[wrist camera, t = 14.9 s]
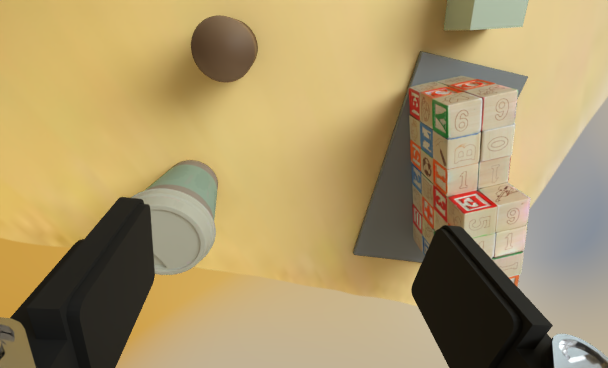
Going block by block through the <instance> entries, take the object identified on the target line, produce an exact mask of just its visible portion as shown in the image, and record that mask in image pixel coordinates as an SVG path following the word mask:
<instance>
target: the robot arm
mask: <svg viewBox="0 0 608 368" xmlns="http://www.w3.org/2000/svg"><path fill="white" fill-rule="evenodd" d="M154 276H155V268H154V254H153V240H152V225H151V211H150V205H149V204H144V201H143V200H142V199H138V198H126V197H120V198H119V199H118V200H117V201H116V203H115V204H114V205H113V206H112V207H111V208H110V210H109V211H108V212H107V213H106V214H105V216H104V217H103V218H102V219H101V220H100V221H99V223H98V224H97V225H96V226H95V227H94V228H93V230H92V231H91V232H90V233H89V234H88V236H87V237H86V238H85V239H82V240H79V241H78V242H76V243H75V244H74V245H73V246H72V248H71V249H70V250H69V251H68V252H67V253H66V255H65V256H64V257H63V258H62V259H61V260H60V261H59V263H58V264H57V265H56V266H55V267H54V269H52V271H51V272H50V273H49V274H48V275H47V276H46V277H45V279H44V280H43V281H42V282H41V283H40V284H39V285H38V287H37V288H36V289H35V290H34V291H33V292H32V294H31V295H30V296H29V297H28V298H27V299H26V300H25V302H24V303H23V304H22V305H21V306H20V307H19V308H18V310H17V311H16V312H15V313H14V314H13V315H12V316H11V318H0V368H115V367H116V365H117V363H118V360H119V358H120V356H121V354H122V351H123V349H124V347H125V345H126V342H127V340H128V338H129V336H130V333H131V331H132V329H133V327H134V325H135V322H136V320H137V318H138V316H139V313H140V311H141V309H142V307H143V304H144V302H145V300H146V298H147V295H148V293H149V291H150V289H151V286H152V284H153V281H154ZM412 295H413V298H414V300H415V302H416V304H417V305H418V307H419V309H420V311H421V313H422V315H423V317H424V319H425V321H426V323H427V325H428V327H429V329H430V331H431V333H432V335H433V337H434V339H435V341H436V343H437V344H438V346H439V348H440V350H441V352H442V354H443V356H444V358H445V360H446V362H447V364H448V366H449V368H608V358H607V357H606V356H605V355H604V354H603V353H602V352H601V351H599V350H598V349H597V348H595V347H594V346H593V345H591V344H589V343H587V342H586V341H584V340H582V339H580V338H577V337H575V336H572V335H568V334H557V335H555V336H554V337H553V338H552V339H551V338H550V337H549V336H548V334H547V332H548V331H549V330H550V328H551V327H552V324H551V323H550V322H549V321H548V320H547V319H546V318H545V317H544V316H543V315H542V313H540V311H539V310H538V309H537V308H536V307H535V306H534V305H533V304H532V302H530V300H529V299H528V298H527V297H526V296H525V295H524V294H523V293H522V292H521V291H520V289H519V288H518V287H517V286H516V285H515V284H514V283H513V282H512V281H511V280H510V279H509V277H508V276H507V275H506V274H505V273H504V272H503V271H502V270H501V269H500V268H499V267H498V266H497V264H496V263H495V262H494V261H493V260H492V259H491V258H490V257H489V256H488V255H487V254H486V252H485V251H484V250H483V249H482V248H481V247H480V246H479V245H478V244H477V243H476V242H475V241H474V239H473V238H472V237H471V236H470V235H469V234H468V233H467V232H466V231H465V230H464V229H463V228H462V227H460V226H450V225H443V226H442V227H441V228H440V229H437V230H436V232H435V234H434V236H433V238H432V241H431V243H430V245H429V248H428V250H427V252H426V255H425V257H424V259H423V262H422V264H421V266H420V269H419V271H418V273H417V276H416V278H415V280H414V283H413V285H412Z"/></svg>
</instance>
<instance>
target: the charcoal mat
mask: <svg viewBox="0 0 608 368" xmlns="http://www.w3.org/2000/svg"><path fill="white" fill-rule="evenodd" d="M458 76H466V77H470V78H475V79H480V80H485V81H489V82H493V83H496V84H498V85H502V86H506V87H510V88H513V89H517V90H518V97H519V95H520V93H521V91H522V88H523V86H524V84H525V82H526V80H527V78H528V77H527V76H523V75H519V74H515V73H511V72H506V71H502V70H498V69H494V68H489V67H485V66H481V65H477V64H472V63H468V62H464V61H460V60H456V59H451V58H447V57H443V56H439V55H434V54H430V53H426V52H421V51H420V54H419V57H418V60H417V63H416V66H415V69H414V72H413V75H412V78H411V81H410V84H409V87H408V90H407V93H406V96H405V99H404V102H403V105H402V108H401V111H400V114H399V117H398V120H397V123H396V126H395V129H394V132H393V135H392V138H391V141H390V144H389V147H388V150H387V153H386V156H385V159H384V162H383V165H382V168H381V170H380V173H379V176H378V179H377V182H376V185H375V188H374V191H373V194H372V197H371V200H370V203H369V206H368V209H367V212H366V215H365V218H364V221H363V224H362V227H361V230H360V233H359V236H358V239H357V242H356V245H355V248H354V251H353V253H354V255H360V256H369V257H378V258H387V259H396V260H404V261H413V262H423V259H424V257H425V255H424V254H423V253H422V251H421V250H420V248H419V247H418V245H417V244H416V242H415V241H414V239H413V189H412V184H413V183H412V166H411V163H412V162H411V154H410V124H409V115H410V105H409V88H410V87H413V86H416V85H420V84H425V83H429V82H435V81H440V80H444V79H449V78H453V77H458ZM517 99H518V98H517Z"/></svg>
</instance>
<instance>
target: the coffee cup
mask: <svg viewBox="0 0 608 368" xmlns="http://www.w3.org/2000/svg"><path fill="white" fill-rule="evenodd" d="M217 188H218V181H217V177H216V175H215V173H214V172H213V171H212V169H211V168H209V167H208V166H207V165H205V164H203V163H201V162H198V161H193V160H187V161H182V162H180V163H178V164H176V165H175V166H174V167H172V168H171V169H170V170H169V171H167V172H166V173H165V174H164V175H163V176H161V177H160V178H159V179H158V180H157V181H155V182H154V183H153V184H152V185H151V186H149V187H148V188H147V189H146V190H145V191H143V192H140V193H138V194H136V195H134V196H133V197H131V198H138V199H142V200H143V201H144V204H149V205H150V211H151V225H152V240H153V254H154V268H155V274H160V275H173V274H178V273H182V272H185V271H187V270H189V269H191V268H193V267H194V266H195V265H196V264H197V263H198V262H199V261H201V260H202V259H203V258H204V257H205V256H206V255H207V254H208V252H209V251H210V249H211V247H212V245H213V243H214V240H215V235H216V229H215V224H214V217H215V207H216V198H217Z"/></svg>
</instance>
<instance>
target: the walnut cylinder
mask: <svg viewBox="0 0 608 368" xmlns="http://www.w3.org/2000/svg"><path fill="white" fill-rule="evenodd" d="M191 50H192V55H193V58H194V61H195V63H196V65H197V66H198V68H199V69H200V70H201V71H202V72H203V73H204V74H205V75H206V76H208V77H209V78H211V79H213V80H216V81H219V82H232V81H236V80H238V79H240V78H241V77H243V76H244V75H245V74H246V73H247V72H248V70H249V69H250V67H251V66H252V64H253V63H254V61H255V59H256V56H257V51H258V46H257V40H256V37H255V35H254V33H253V32H252V30H251V29H250V28H249V27H248V26H247V25H246V24H245V23H243V22H241V21H239V20H236V19H233V18H230V17H226V16H212V17H209V18H207V19H205V20H203V21H202V22H201V23H200V24H199V25H198V26H197V27H196V29H195V31H194V33H193V36H192V40H191Z"/></svg>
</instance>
